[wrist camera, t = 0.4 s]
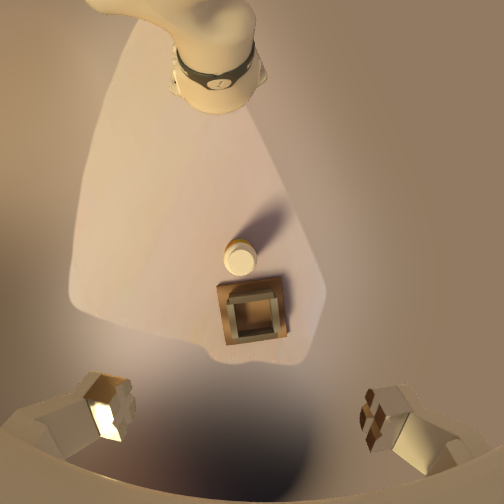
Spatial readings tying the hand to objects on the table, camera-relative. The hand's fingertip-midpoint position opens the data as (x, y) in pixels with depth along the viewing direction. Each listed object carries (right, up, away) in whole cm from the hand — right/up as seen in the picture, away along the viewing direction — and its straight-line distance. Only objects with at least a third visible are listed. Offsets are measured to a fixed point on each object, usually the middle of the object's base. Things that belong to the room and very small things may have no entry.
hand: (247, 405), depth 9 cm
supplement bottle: (-2, +5, +45) cm, 46 cm away
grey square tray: (0, -6, +47) cm, 47 cm away
